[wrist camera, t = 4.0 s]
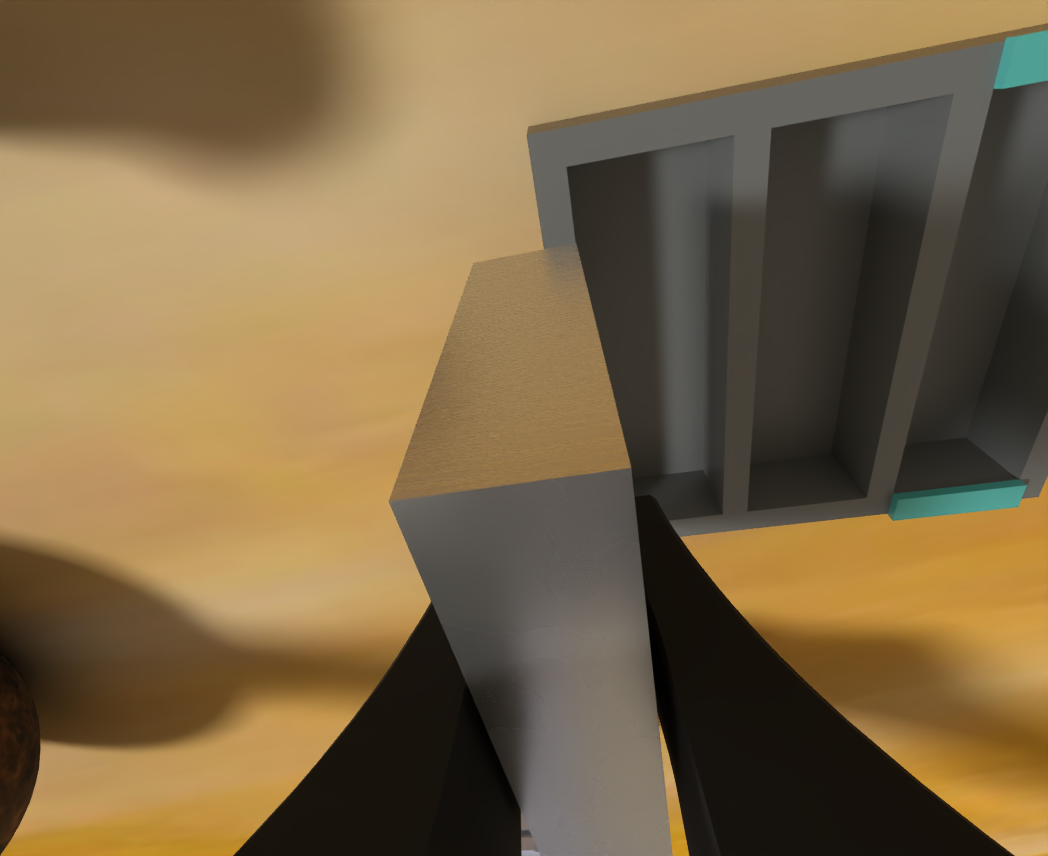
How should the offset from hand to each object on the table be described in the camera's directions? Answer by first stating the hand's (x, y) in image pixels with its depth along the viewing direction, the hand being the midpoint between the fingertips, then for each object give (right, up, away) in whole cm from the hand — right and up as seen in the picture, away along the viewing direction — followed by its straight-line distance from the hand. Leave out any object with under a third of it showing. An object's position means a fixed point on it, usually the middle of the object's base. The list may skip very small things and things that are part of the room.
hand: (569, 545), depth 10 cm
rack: (+8, +6, +7) cm, 12 cm away
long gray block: (0, +1, +3) cm, 3 cm away
